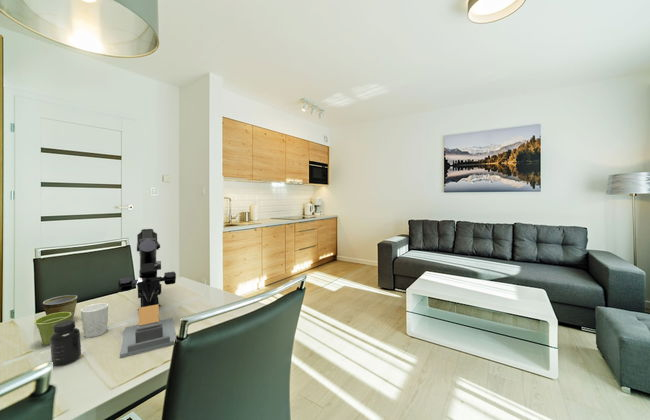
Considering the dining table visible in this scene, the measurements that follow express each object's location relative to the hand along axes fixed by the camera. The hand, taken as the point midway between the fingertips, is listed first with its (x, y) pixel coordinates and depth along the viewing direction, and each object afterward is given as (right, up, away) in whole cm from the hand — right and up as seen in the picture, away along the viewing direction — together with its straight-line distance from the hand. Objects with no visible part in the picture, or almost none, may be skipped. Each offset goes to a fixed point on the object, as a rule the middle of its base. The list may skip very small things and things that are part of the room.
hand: (148, 300), depth 102 cm
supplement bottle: (-15, -13, -16) cm, 26 cm away
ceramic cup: (-42, -12, +8) cm, 44 cm away
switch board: (+2, -13, -2) cm, 13 cm away
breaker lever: (+4, -7, -6) cm, 10 cm away
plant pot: (-30, -13, -6) cm, 33 cm away
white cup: (-20, -12, 0) cm, 24 cm away
